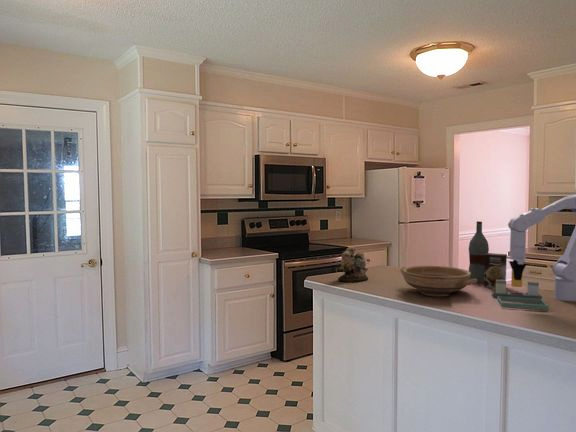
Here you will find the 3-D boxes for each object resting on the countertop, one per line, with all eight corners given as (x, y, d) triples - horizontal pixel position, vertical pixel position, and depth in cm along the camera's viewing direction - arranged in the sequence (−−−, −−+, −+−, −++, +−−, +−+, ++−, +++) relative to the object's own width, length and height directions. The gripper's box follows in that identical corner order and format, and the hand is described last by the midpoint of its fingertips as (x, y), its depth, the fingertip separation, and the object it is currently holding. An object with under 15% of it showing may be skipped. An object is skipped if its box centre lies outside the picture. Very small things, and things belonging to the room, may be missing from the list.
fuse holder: (539, 300, 191) (539, 293, 190) (543, 303, 184) (543, 296, 184) (491, 297, 196) (491, 290, 196) (493, 300, 190) (493, 293, 189)
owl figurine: (347, 284, 223) (347, 249, 222) (331, 280, 233) (331, 247, 232) (373, 279, 234) (373, 246, 233) (357, 276, 243) (357, 244, 242)
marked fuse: (520, 286, 190) (521, 269, 190) (522, 287, 188) (522, 270, 188) (511, 285, 191) (511, 268, 191) (512, 286, 189) (512, 269, 189)
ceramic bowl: (493, 296, 197) (493, 273, 197) (455, 306, 180) (455, 281, 179) (420, 282, 227) (421, 262, 226) (382, 290, 209) (382, 268, 209)
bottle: (481, 284, 221) (482, 222, 220) (464, 281, 229) (465, 221, 227) (491, 282, 227) (493, 221, 225) (474, 279, 234) (476, 220, 233)
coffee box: (483, 289, 212) (484, 254, 211) (484, 286, 218) (485, 252, 217) (505, 291, 208) (506, 255, 207) (506, 288, 213) (507, 253, 212)
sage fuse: (504, 296, 192) (505, 280, 192) (505, 297, 190) (506, 281, 190) (495, 296, 193) (495, 279, 193) (496, 297, 191) (496, 280, 191)
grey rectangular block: (536, 298, 189) (537, 281, 188) (538, 299, 187) (538, 282, 186) (527, 298, 190) (527, 281, 190) (528, 299, 188) (528, 282, 187)
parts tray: (541, 305, 182) (541, 298, 182) (548, 312, 171) (548, 305, 171) (497, 302, 187) (497, 296, 187) (501, 309, 176) (501, 302, 176)
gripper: (504, 244, 197) (503, 275, 198) (510, 248, 183) (509, 282, 184) (522, 244, 195) (521, 276, 196) (529, 248, 181) (528, 283, 182)
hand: (517, 279), depth 190 cm, fingers closed on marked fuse, 2 cm apart
